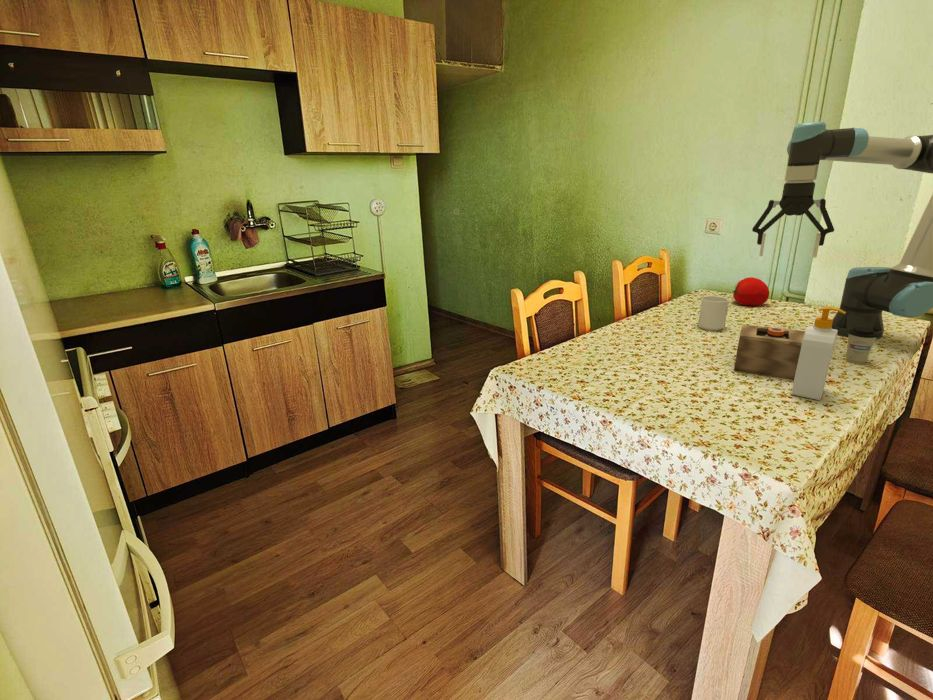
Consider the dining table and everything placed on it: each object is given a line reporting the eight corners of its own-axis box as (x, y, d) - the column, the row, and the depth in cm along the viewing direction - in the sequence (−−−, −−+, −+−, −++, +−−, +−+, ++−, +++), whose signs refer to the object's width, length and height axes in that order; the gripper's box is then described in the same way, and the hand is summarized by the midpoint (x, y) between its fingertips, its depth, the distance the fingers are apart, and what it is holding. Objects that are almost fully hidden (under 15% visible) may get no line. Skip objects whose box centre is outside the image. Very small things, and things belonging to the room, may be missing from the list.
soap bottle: (823, 402, 121) (844, 314, 113) (790, 395, 125) (809, 309, 118) (827, 390, 128) (847, 305, 120) (795, 383, 132) (813, 302, 124)
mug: (720, 332, 174) (725, 303, 170) (694, 328, 180) (698, 299, 176) (729, 324, 183) (734, 296, 179) (704, 321, 188) (708, 293, 184)
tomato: (762, 310, 210) (729, 310, 213) (760, 283, 213) (727, 283, 216) (774, 300, 198) (739, 300, 201) (772, 271, 201) (737, 272, 204)
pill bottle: (780, 363, 143) (788, 327, 139) (782, 370, 138) (789, 333, 134) (757, 360, 146) (764, 325, 142) (758, 367, 141) (765, 330, 137)
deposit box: (797, 365, 143) (805, 331, 140) (798, 380, 134) (807, 343, 130) (736, 357, 151) (742, 324, 148) (733, 370, 142) (739, 335, 138)
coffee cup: (843, 355, 150) (851, 324, 147) (872, 360, 146) (880, 328, 142) (839, 361, 146) (846, 329, 142) (868, 367, 141) (877, 334, 138)
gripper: (852, 179, 135) (836, 255, 143) (750, 183, 147) (740, 252, 155) (856, 180, 129) (840, 259, 137) (749, 184, 141) (739, 256, 149)
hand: (787, 256), depth 146 cm, fingers open, 13 cm apart
